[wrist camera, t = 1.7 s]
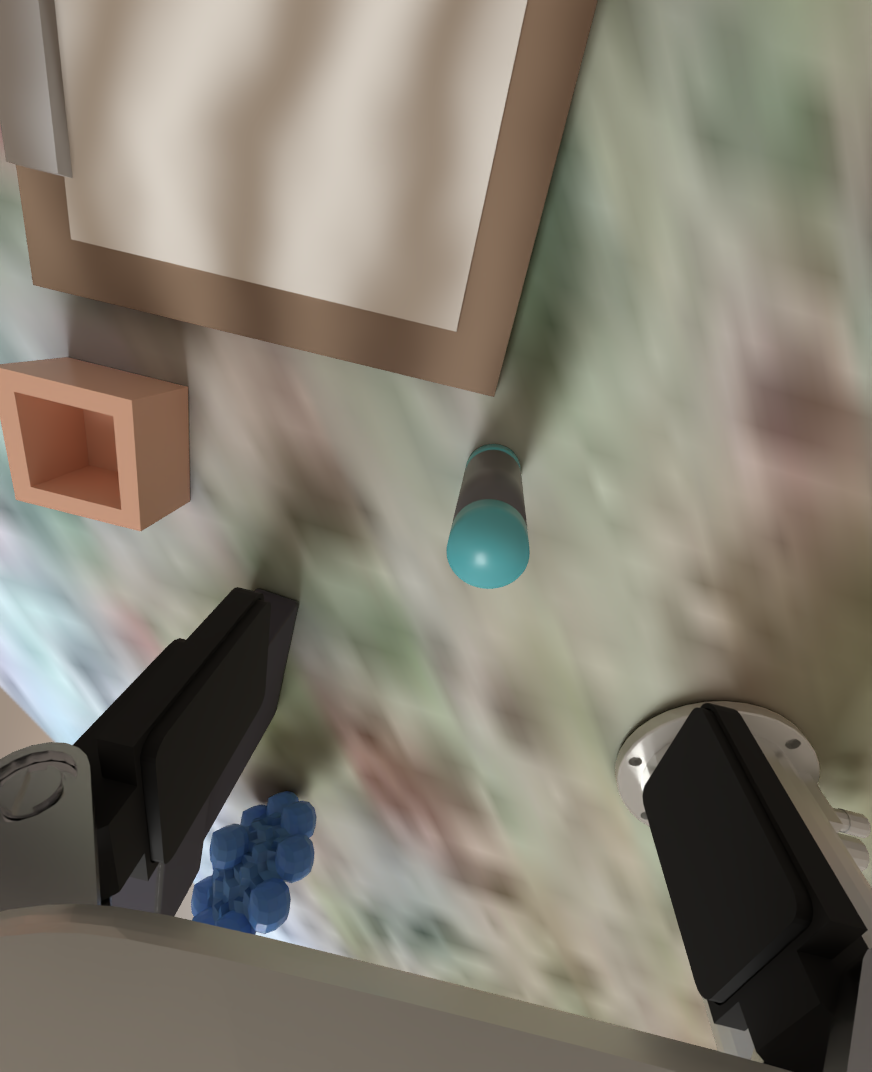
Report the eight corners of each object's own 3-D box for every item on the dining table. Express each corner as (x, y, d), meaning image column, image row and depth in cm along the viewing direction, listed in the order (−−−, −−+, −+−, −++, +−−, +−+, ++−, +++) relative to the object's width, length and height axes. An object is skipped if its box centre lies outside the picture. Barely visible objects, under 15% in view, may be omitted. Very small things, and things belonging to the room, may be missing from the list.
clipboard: (628, -122, 17) (643, -174, 15) (494, 393, 25) (493, 400, 23) (-22, -265, 17) (-83, -331, 16) (50, 285, 25) (15, 283, 23)
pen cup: (188, 386, 27) (131, 400, 23) (190, 501, 30) (140, 531, 26) (67, 357, 27) (-10, 365, 23) (81, 474, 30) (16, 499, 26)
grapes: (303, 737, 37) (222, 909, 27) (357, 791, 39) (302, 972, 28) (207, 783, 41) (102, 950, 31) (260, 830, 43) (180, 1003, 32)
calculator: (247, 581, 32) (59, 780, 18) (309, 601, 32) (167, 815, 18) (229, 697, 37) (70, 923, 23) (283, 715, 37) (156, 950, 23)
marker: (527, 451, 26) (540, 526, 17) (511, 501, 27) (516, 596, 18) (473, 438, 26) (457, 506, 17) (460, 489, 27) (439, 577, 18)
